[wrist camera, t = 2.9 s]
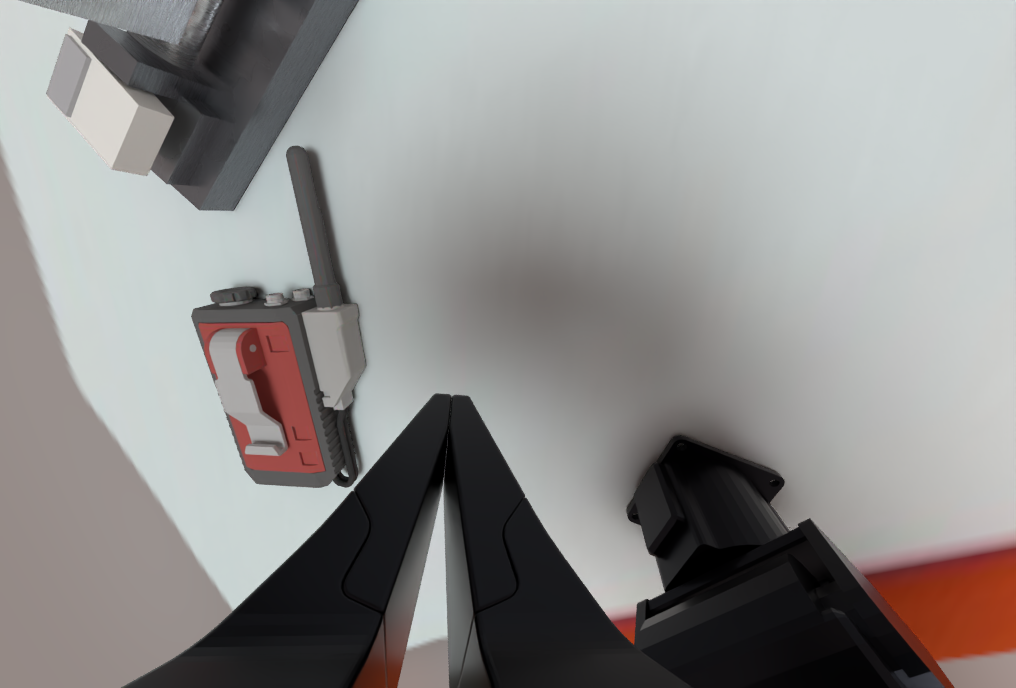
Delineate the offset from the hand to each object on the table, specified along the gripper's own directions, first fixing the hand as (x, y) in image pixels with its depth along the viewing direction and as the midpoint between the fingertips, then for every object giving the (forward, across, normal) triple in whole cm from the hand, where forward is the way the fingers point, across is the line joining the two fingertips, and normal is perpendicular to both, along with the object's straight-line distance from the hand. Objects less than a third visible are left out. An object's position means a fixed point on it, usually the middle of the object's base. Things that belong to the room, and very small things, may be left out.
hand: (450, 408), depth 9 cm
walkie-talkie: (+14, +10, +7) cm, 18 cm away
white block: (+12, +15, -4) cm, 19 cm away
